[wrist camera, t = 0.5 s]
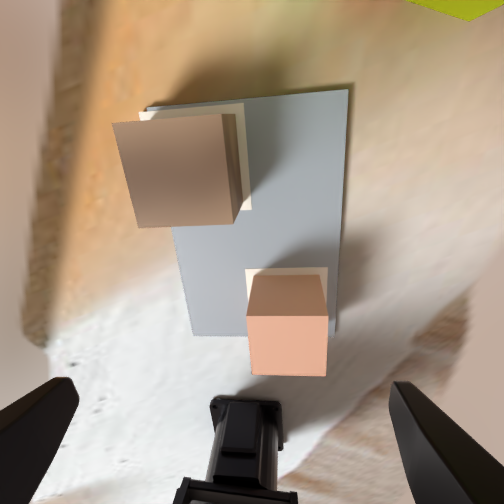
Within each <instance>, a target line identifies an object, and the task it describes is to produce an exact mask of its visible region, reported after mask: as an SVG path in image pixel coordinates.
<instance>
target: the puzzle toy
mask: <svg viewBox="0 0 504 504" xmlns="http://www.w3.org/2000/svg"><path fill="white" fill-rule="evenodd" d="M406 1H409V2H412V3H415V4H418V5H421V6H424V7H427V8H430V9H433V10H436V11H439V12H442V13H445V14H448V15H451V16H454V17H457V18H460V19H463V20H466V21H471V20H473V19H475V18H477V17H479V16H481V15H483V14H485V13H487V12H489V11H491V10H493V9H495V8H497V7H499V6H501V5H503V4H504V0H406Z"/></svg>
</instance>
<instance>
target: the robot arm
mask: <svg viewBox="0 0 504 504" xmlns="http://www.w3.org/2000/svg"><path fill="white" fill-rule="evenodd" d="M78 405H79V395H78V393H77V390H76V388H75V386H74V383H73V381H72V379H71V378H69V377H55V378H53V379H51V380H49V381H48V382H46V383H44V384H43V385H41V386H39V387H38V388H36V389H35V390H33V391H31V392H30V393H28V394H26V395H25V396H23V397H22V398H20V399H18V400H17V401H15V402H14V403H12V404H11V405H9V406H7V407H6V408H4V409H2V410H1V411H0V504H29V502H30V501H31V499H32V497H33V495H34V493H35V492H36V490H37V488H38V486H39V485H40V483H41V481H42V479H43V477H44V476H45V474H46V472H47V470H48V468H49V466H50V465H51V463H52V461H53V459H54V457H55V455H56V453H57V450H58V448H59V446H60V444H61V442H62V440H63V437H64V435H65V433H66V431H67V429H68V427H69V424H70V422H71V420H72V418H73V416H74V414H75V411H76V409H77V407H78ZM210 411H211V416H212V421H213V426H214V431H215V437H214V442H213V447H212V451H211V456H210V461H209V465H208V470H207V475H206V479H205V481H201V480H193V479H191V478H190V477H184V478H183V481H182V484H181V486H180V488H178V489H177V491H176V495H175V498H174V501H173V504H298V496H297V492H293V491H290V492H282V491H277V465H278V451H282V450H283V426H282V405H281V403H279V402H276V401H249V400H220V399H214V400H211V402H210ZM389 412H390V416H391V420H392V424H393V428H394V432H395V435H396V439H397V443H398V447H399V451H400V455H401V458H402V462H403V466H404V470H405V473H406V477H407V480H408V483H409V486H410V489H411V492H412V495H413V498H414V500H415V503H416V504H504V466H503V465H502V464H500V463H499V462H498V461H497V460H496V459H495V458H494V457H493V456H492V455H491V454H489V453H488V452H487V451H486V450H485V449H484V448H483V447H482V446H481V445H480V444H478V443H477V442H476V441H475V440H474V439H473V438H472V437H471V436H470V435H468V434H467V433H466V432H465V431H464V430H463V429H462V428H461V427H460V426H459V425H458V424H456V423H455V422H454V421H453V420H452V419H451V418H450V417H449V416H448V415H447V414H445V413H444V412H443V411H442V410H441V409H440V408H439V407H438V406H437V405H435V404H434V403H433V402H432V401H431V400H430V399H429V398H428V397H427V396H426V395H424V394H423V393H422V392H421V391H420V390H419V389H418V388H417V387H416V386H415V385H413V384H412V383H411V382H409V381H393V382H392V384H391V389H390V397H389Z"/></svg>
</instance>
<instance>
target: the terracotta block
mask: <svg viewBox="0 0 504 504" xmlns="http://www.w3.org/2000/svg"><path fill="white" fill-rule="evenodd" d="M328 317H329V316H328V311H327V307H326V302H325V298H324V293H323V289H322V284H321V280H320V275H269V276H253V281H252V286H251V292H250V297H249V303H248V308H247V313H246V321H247V330H248V340H249V350H250V359H251V369H252V375H288V376H326V363H327V340H328Z"/></svg>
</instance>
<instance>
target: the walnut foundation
mask: <svg viewBox="0 0 504 504" xmlns="http://www.w3.org/2000/svg"><path fill="white" fill-rule="evenodd" d="M112 126H113V130H114V134H115V138H116V142H117V146H118V150H119V153H120V157H121V161H122V165H123V169H124V173H125V177H126V181H127V185H128V189H129V193H130V196H131V200H132V204H133V208H134V212H135V216H136V220H137V224H138V228H155V227H181V226H206V225H232V224H234V222H235V220H236V217H237V215H238V213H239V211H240V209H241V206H242V204H243V194H242V183H241V172H240V160H239V149H238V138H237V127H236V116H235V114H213V115H202V116H190V117H178V118H167V119H155V120H144V121H132V122H120V123H112Z"/></svg>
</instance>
